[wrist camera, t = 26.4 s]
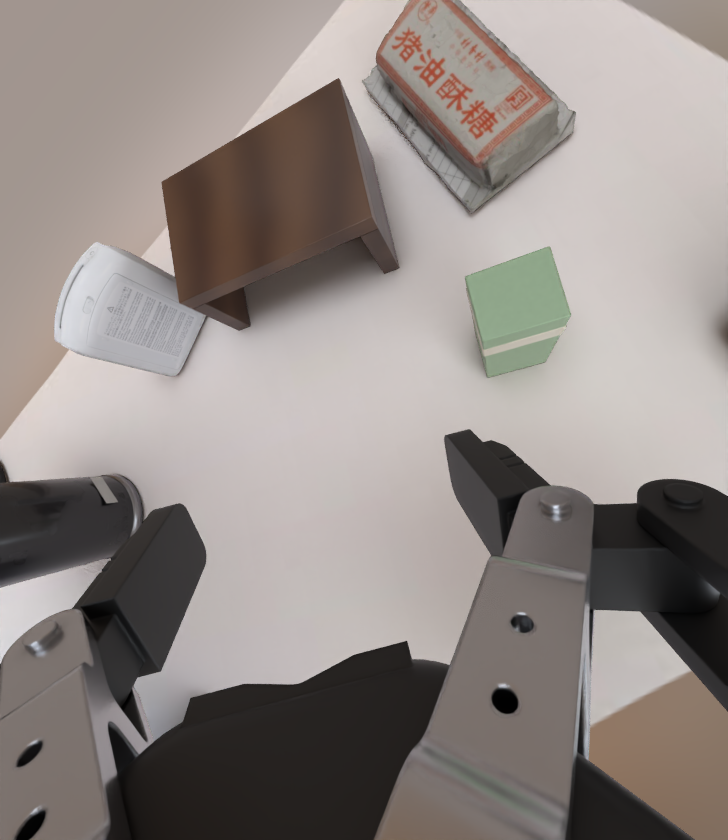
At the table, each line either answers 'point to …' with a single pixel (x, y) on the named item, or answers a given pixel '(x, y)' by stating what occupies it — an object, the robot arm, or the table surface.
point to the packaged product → (465, 99)
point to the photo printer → (125, 312)
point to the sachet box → (517, 311)
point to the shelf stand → (274, 204)
